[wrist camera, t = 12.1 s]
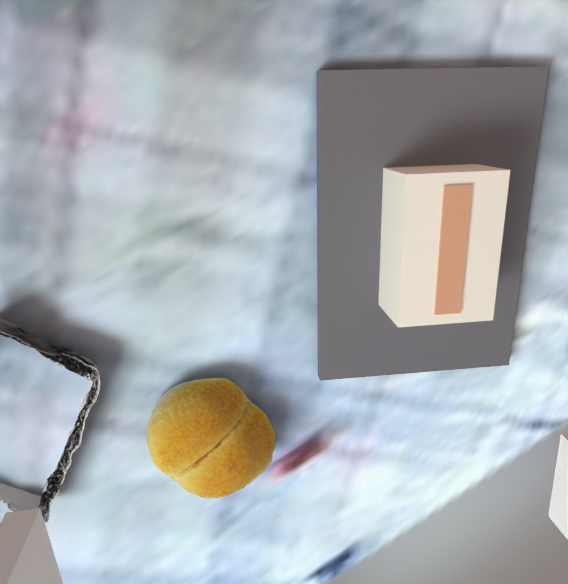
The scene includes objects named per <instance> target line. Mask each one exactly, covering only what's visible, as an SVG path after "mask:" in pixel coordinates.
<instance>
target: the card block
mask: <svg viewBox="0 0 568 584" xmlns="http://www.w3.org/2000/svg"><path fill="white" fill-rule="evenodd" d="M509 177H510V170H508V169H502V168H496V167H491V166H485V165H479V164H463V165H439V166H415V167H391V168H383V188H382V217H381V246H380V275H379V304H378V305H379V306H380V307H381V308H382V309H383V310H384V312H385V313H386V314H387V315H388V316H389V317H390V319H391V320H392V321H393V322H394V323H395V324H396V326H397V327H411V326H425V325H438V324H451V323H464V322H478V321H491V320H493V316H494V307H495V299H496V290H497V281H498V273H499V264H500V255H501V247H502V238H503V229H504V221H505V212H506V203H507V195H508V186H509Z"/></svg>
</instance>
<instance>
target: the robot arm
mask: <svg viewBox="0 0 568 584" xmlns="http://www.w3.org/2000/svg"><path fill="white" fill-rule="evenodd" d="M548 516H549V517H550V519H551V520H552V521H553V522H554V524H555V525H556V526H557V527H558V528H559V530H560V531H561V532H562V533H563V534H564V536H565V537H566V538H567V539H568V433H564V434H561V437H560V444H559V450H558V457H557V463H556V470H555V476H554V483H553V489H552V495H551V503H550V508H549V515H548ZM0 584H63V583H62V579H61V576H60V573H59V569H58V566H57V563H56V559H55V556H54V553H53V549H52V546H51V543H50V539H49V536H48V533H47V529H46V526H45V523H44V519H43V516H42V513H41V509H40V508H36V509H29V510H21V511H14V512H7V513H6V514H5V516H4V518H3V520H2V522H1V524H0Z"/></svg>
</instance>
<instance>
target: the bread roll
mask: <svg viewBox="0 0 568 584" xmlns="http://www.w3.org/2000/svg"><path fill="white" fill-rule="evenodd" d="M147 445H148V448H149V451H150V454H151V458H152V461H153V462H154V464H155V465H156V466H157V467H158V468H159V470H161V471H162V472H164V473H165V474H167V475H168V476H170V477H171V478H173V479H174V480H175V481H176V482H177V483H178V484H180V485H181V486H182V487H183V488H185V489H186V490H187V491H188V492H190V493H193V494H196V495H198V496H200V497H206V498H219V497H224V496H227V495H229V494H232V493H234V492H236V491H238V490H239V489H241V488H244V487H245V486H246V485H247V484H249V483H250V482H251V481H253V480H254V479H255V478H256V477H258V476H259V475H260V474H262V473H263V472H264V471H265V469H266V468H267V467H268V466H269V465H270V463H271V461H272V453H273V450H274V447H275V432H274V429H273V427H272V425H271V422H270V420H269V418H268V417H267V415H266V414H265V413H264V412H263V411H262V410H261V409H260V408H259V407H258V406H257V405H255V404H254V403H253V402H252V401H251V400H250V399H249V398H248V397H247V396H246V395H245V394H244V392H243V391H242V389H241V388H240V387H239V386H237V385H236V384H235V383H234V382H232V381H231V380H229V379H226V378H219V377H216V378H205V379H197V380H192V381H187V382H183V383H181V384H178V385H175V386H174V387H172V388H171V389H169V390H168V391H167V392H165V393H164V394H163V395H162V396H161V398H160V399H159V400H158V402H157V403H156V405H155V408H154V410H153V413H152V415H151V418H150V420H149V423H148V426H147Z"/></svg>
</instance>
